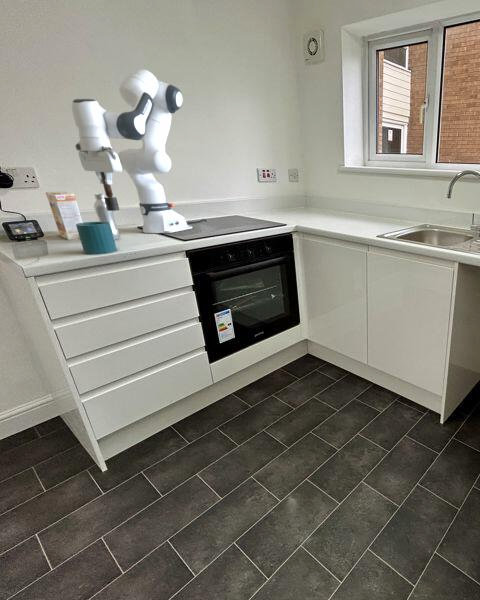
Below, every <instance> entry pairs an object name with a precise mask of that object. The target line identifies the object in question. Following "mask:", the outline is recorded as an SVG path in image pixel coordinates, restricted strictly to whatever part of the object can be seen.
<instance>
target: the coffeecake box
mask: <svg viewBox="0 0 480 600" xmlns="http://www.w3.org/2000/svg"><path fill="white" fill-rule="evenodd" d="M45 195H46V198H47V200H48V203H49V206H50V210H51V213H52V215H53V218H54V222H55V225H56V228H57V231H58V234H59V236H61V237H62V238H64V239H67V240H70V241H71V240H78V239H79V240H80V237H79V233H78V230H77V227H76V224H78V223H84V222H83V219H82V215H81V212H80V208H79V205H78V202H77V197H76V195H75V194H74V193H71V192H68V191H45Z"/></svg>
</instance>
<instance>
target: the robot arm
mask: <svg viewBox="0 0 480 600" xmlns="http://www.w3.org/2000/svg"><path fill="white" fill-rule="evenodd" d="M118 91H119V95H120V97H121V98H122V100H123V101H124V102H125V103H126V104H127V106H129V107H131V108H132V109H131V110H130V111H108V110H107V109H105V108H103V107H102V106H101V105H100V104H99V101H98V100H97V99H93V98H75V99H72V101H71V111H72V116H73V120H74V123H75V127H76V128H77V130H78V138H79V141H78V142H77V143H76V144H75V145H74V147H75V150H76V151H77V152H78V157H79V161H80V163H81V166H82V168H83V170H84V172H85V171H86V172H95V175H96V177H97V179H98V180H99V184H101V185H103V182H102V178H101V175H100V172H104V175H105V177H106V180H105V183H106V184H110V185H113V174H119V173H121V174H122V173H123V170H124V171H125V172H126V173H127V174H128V176H129V177H130V179H131V180H132V182H133V184H134V186H135V189H136V193H137V196H138V200H139V203H138V206H139V211H140V213H141V215H142V233H144V234H172V233H177V232H181V231H186V230H192V229H193V225H190V224H199V223H202V222H203V221H204V222H208V221H207V219H205V218H202V219H200V220H198V221H188V222H187V220H186V218H185V216H183V215H182V214H179V213H178V212H176V211H174V210H173V209H172V208H175V206H176V204H175V203H173V202H172V203H171V202H170V203H169V202H167V199H166V193H165V189H164V186H163V185H162V184H161V183H160V182H158V180H156V178H155V176H154V175H160V174H165V173H168V172H169V171H171V168H172V160H171V158H170V156H169V155H168V154H167V152H166V143H167V140H168V136H169V134H170V130H171V125H172V114H175V113H176V112H177V111H179V110H180V109H181V108H182V106H183V101H184V98H183V93H182V91H181V90H180V88H178V87H177V86H175V85H173V84H169V83H166V82H164V81H161V80H158V79H157V77H156V76H155V75H154V74H153V73H152V72H150V71H149V70H147V69H144V68H138V69H136V70H134V71H132V72H131V73H129V74H128V75H127V76H126V77H124V79H123V80H122V81H121V83H120V84H119V87H118ZM110 139H114V140H115V139H116V140H131V141H141V142H142V147H141V148H127V149H123V150H120V151H119V152H118V153H117V152H116V151H115V150H114V149H113V147H112V145H111V141H110Z"/></svg>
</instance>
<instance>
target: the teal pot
mask: <svg viewBox="0 0 480 600" xmlns="http://www.w3.org/2000/svg"><path fill="white" fill-rule="evenodd" d="M76 227H77V230H78V233H79V237H80V239H79V240H80V244H81V247H82V250H83V252H84V254H85V255H103V254H111V253H114V252H117V251H118V249H117V245H116V241H115V240H114V237H113V233H112V229H111V226H110V223H109V222H99V221H86V222H83V223H78V224H76Z"/></svg>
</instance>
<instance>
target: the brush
mask: <svg viewBox="0 0 480 600" xmlns="http://www.w3.org/2000/svg"><path fill="white" fill-rule="evenodd" d="M100 175H101V178H102V182H103V184H102V187H103V189H104V194H105V196H106V197H104V200H105V204H106V208H107V210H108V211H113V212H115V211H120V206H119V203H118V199H117V197H116V196H114V194H113V189H112V186H111V184H106V183H105V180H106V177H105V175H104V172H100Z"/></svg>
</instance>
